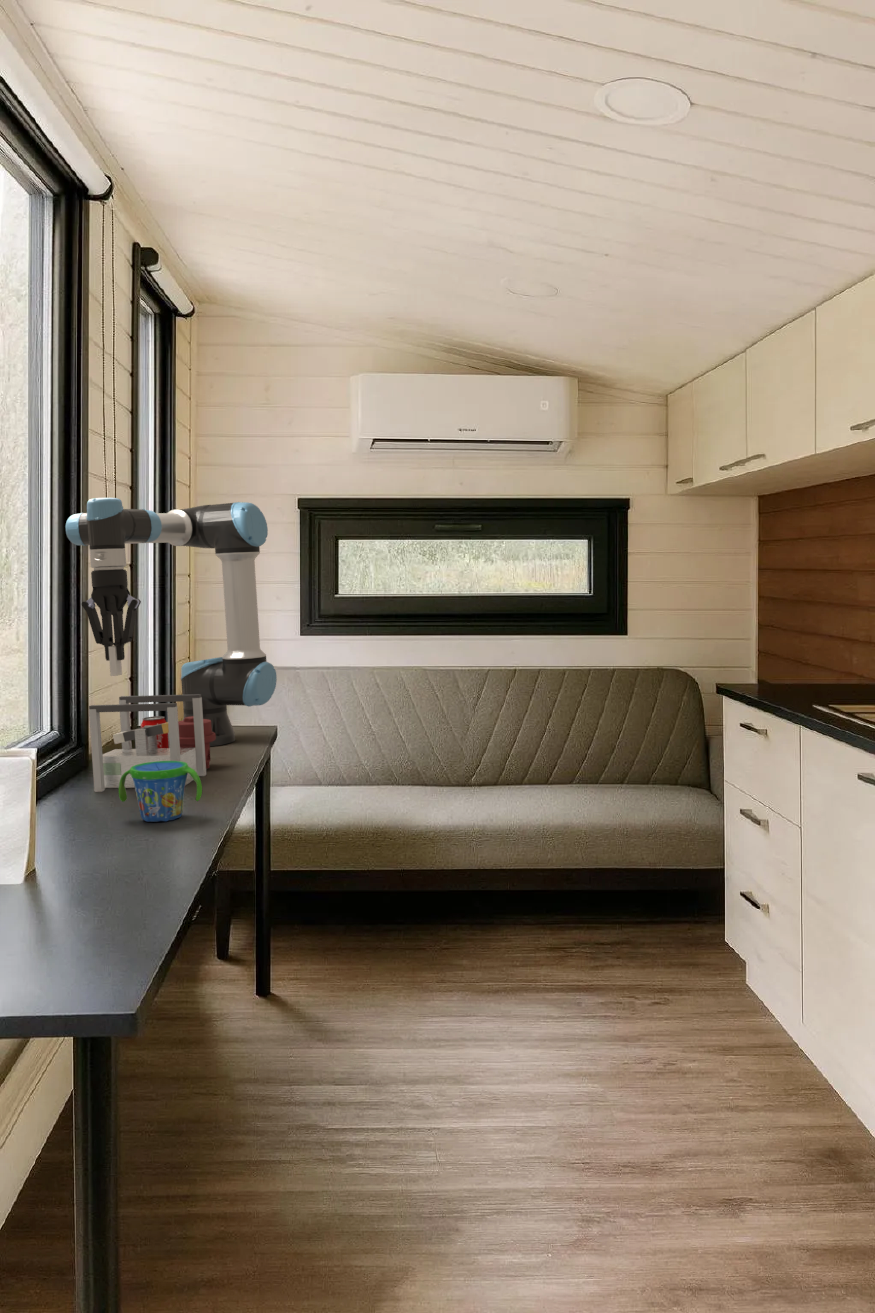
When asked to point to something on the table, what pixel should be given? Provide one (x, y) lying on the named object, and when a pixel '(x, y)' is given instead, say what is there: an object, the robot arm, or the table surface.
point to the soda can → (161, 738)
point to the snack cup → (160, 788)
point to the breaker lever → (151, 730)
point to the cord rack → (125, 726)
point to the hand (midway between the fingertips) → (116, 675)
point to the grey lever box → (140, 759)
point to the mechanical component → (189, 736)
